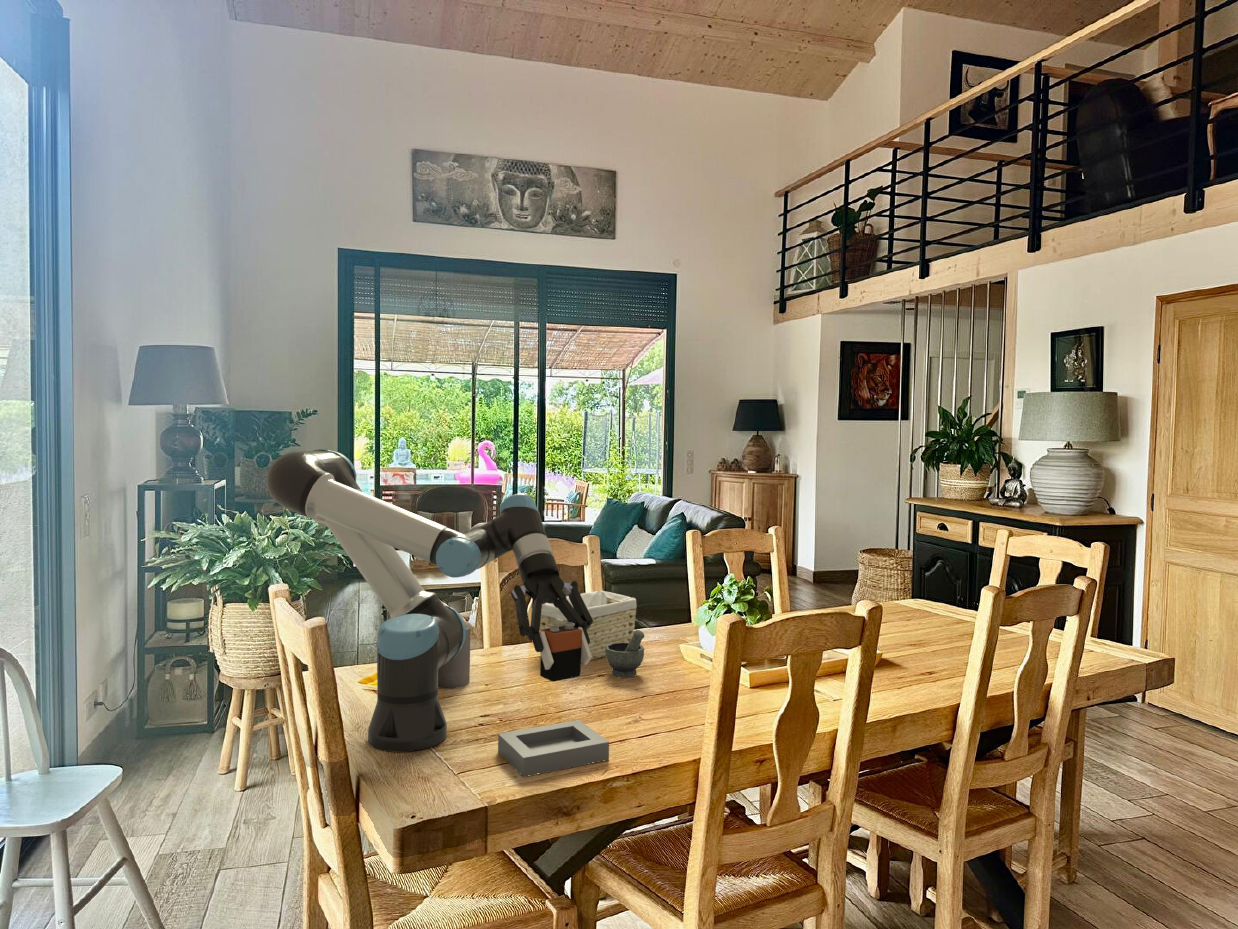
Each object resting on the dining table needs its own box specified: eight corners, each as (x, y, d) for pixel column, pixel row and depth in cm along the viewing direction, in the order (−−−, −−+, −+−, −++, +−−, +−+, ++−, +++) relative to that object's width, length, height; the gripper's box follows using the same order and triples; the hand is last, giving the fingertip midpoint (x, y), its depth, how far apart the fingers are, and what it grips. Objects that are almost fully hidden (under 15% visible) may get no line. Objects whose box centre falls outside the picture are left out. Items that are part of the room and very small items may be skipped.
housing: (523, 777, 151) (523, 757, 150) (498, 751, 162) (498, 733, 162) (608, 760, 159) (609, 742, 158) (578, 737, 170) (579, 719, 170)
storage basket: (571, 667, 219) (572, 610, 218) (533, 654, 231) (534, 600, 230) (639, 651, 235) (639, 598, 234) (600, 639, 247) (601, 589, 246)
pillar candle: (421, 686, 201) (421, 623, 200) (441, 674, 210) (442, 614, 210) (458, 691, 198) (459, 627, 197) (477, 679, 208) (478, 618, 207)
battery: (581, 676, 162) (583, 625, 161) (552, 683, 158) (554, 629, 157) (568, 670, 165) (569, 620, 165) (538, 676, 161) (540, 624, 160)
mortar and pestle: (597, 673, 213) (597, 626, 212) (624, 666, 219) (624, 620, 219) (628, 684, 205) (628, 634, 204) (655, 676, 211) (656, 628, 211)
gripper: (574, 569, 179) (608, 667, 166) (483, 575, 169) (512, 680, 156) (586, 548, 174) (623, 647, 161) (494, 553, 164) (525, 659, 151)
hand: (569, 663), depth 158 cm, fingers closed on battery, 7 cm apart
